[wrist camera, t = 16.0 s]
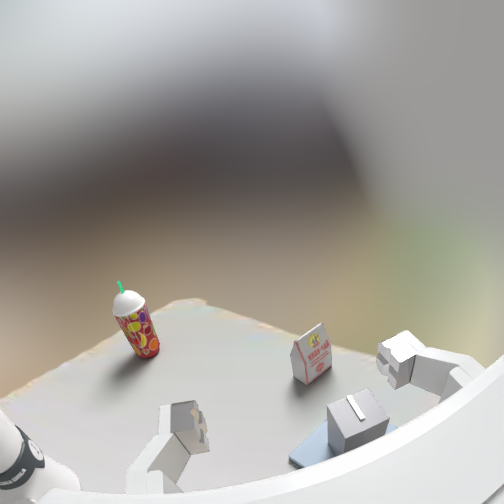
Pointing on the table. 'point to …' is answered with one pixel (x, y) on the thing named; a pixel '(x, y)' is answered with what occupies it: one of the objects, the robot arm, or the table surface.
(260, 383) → the table surface
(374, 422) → the tall gray block
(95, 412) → the table surface
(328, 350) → the white paper bag
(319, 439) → the panel
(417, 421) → the robot arm
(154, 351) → the smoothie
